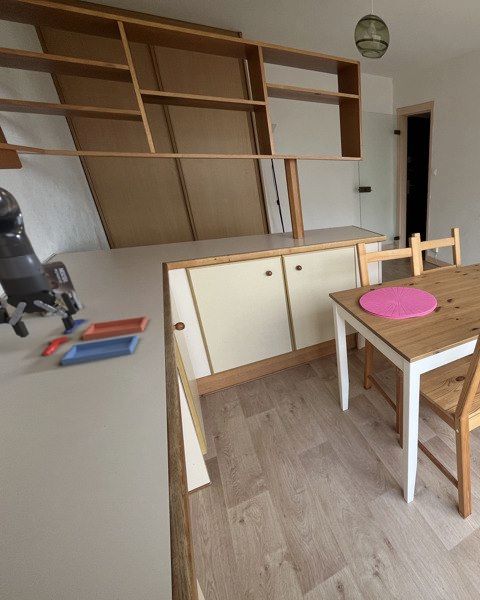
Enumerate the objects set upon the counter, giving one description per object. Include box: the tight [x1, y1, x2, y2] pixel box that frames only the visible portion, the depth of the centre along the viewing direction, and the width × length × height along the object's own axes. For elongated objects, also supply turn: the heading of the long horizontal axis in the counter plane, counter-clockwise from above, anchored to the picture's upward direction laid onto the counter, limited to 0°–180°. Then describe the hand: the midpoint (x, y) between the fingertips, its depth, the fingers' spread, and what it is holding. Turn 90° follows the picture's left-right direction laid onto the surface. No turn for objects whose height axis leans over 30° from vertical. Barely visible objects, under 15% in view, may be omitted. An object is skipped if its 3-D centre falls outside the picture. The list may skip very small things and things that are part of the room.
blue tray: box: [60, 334, 139, 367], centre depth 82 cm, size 13×8×2 cm, turn 118°
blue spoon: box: [63, 318, 86, 335], centre depth 94 cm, size 10×3×1 cm, turn 28°
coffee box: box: [40, 260, 83, 317], centre depth 102 cm, size 9×6×16 cm
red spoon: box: [42, 336, 69, 357], centre depth 83 cm, size 10×3×1 cm, turn 28°
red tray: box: [81, 316, 149, 341], centre depth 93 cm, size 13×8×2 cm, turn 118°
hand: (48, 332), depth 81 cm, fingers open, 8 cm apart
